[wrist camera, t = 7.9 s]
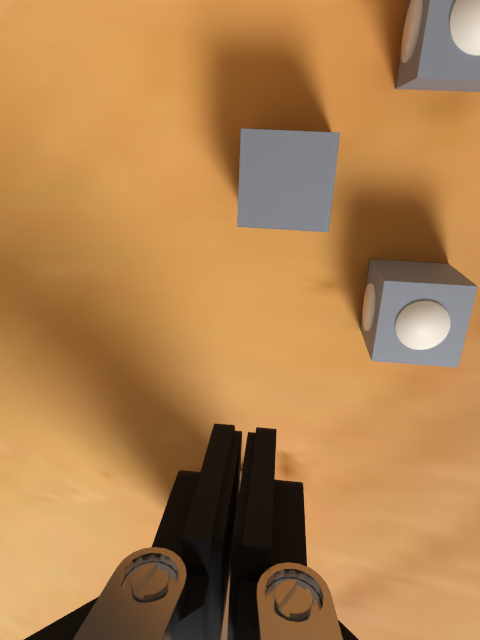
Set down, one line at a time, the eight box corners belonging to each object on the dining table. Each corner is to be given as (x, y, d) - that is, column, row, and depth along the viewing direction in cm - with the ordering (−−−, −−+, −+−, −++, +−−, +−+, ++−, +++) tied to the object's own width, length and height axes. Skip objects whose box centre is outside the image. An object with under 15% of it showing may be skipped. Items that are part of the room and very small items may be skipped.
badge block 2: (433, 333, 37) (458, 368, 32) (356, 328, 38) (368, 361, 32) (448, 263, 35) (478, 287, 30) (366, 258, 36) (380, 281, 30)
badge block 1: (485, 92, 31) (528, 81, 25) (391, 89, 31) (413, 77, 26) (508, -14, 29) (561, -52, 23) (406, -16, 29) (434, -53, 23)
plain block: (322, 217, 35) (328, 232, 29) (245, 213, 35) (237, 226, 30) (331, 133, 33) (340, 132, 27) (249, 130, 33) (240, 128, 28)
